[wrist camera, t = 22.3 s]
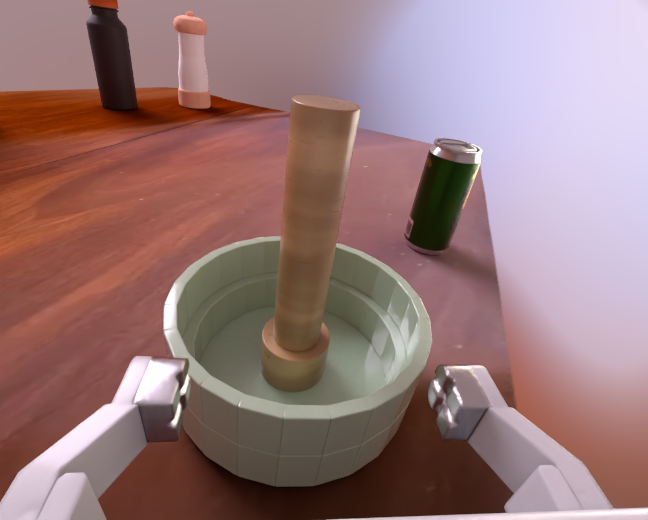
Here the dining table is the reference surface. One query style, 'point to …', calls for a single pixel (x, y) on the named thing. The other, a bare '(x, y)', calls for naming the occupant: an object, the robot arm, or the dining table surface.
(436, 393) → the robot arm
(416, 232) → the beer can
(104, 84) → the bottle
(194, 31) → the pepper shaker
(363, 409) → the bowl
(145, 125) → the dining table surface
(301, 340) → the wooden pestle
